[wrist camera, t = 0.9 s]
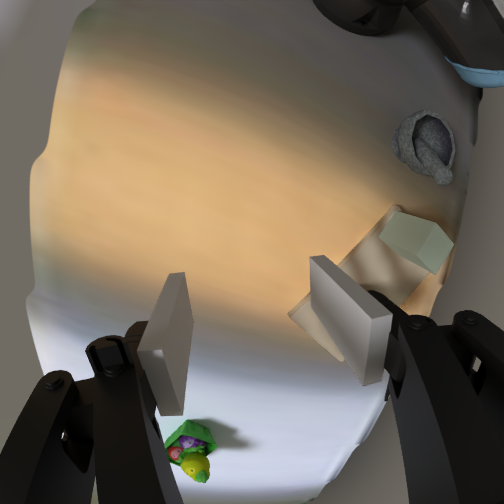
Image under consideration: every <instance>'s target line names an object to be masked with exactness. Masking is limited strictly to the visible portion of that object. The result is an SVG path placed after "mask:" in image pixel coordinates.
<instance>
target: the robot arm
mask: <svg viewBox="0 0 504 504" xmlns="http://www.w3.org/2000/svg"><path fill="white" fill-rule="evenodd" d="M313 2H314V4H315V5H316V7H317V8H318V9H319V10H320V12H321V13H322V14H323V15H324V16H325V17H327V18H328V19H329V20H330V21H332V22H333V23H335V24H336V25H338V26H339V27H341V28H343V29H345V30H348V31H350V32H353V33H356V34H360V35H378V34H381V33H383V32H385V31H386V30H387V29H389V28H390V27H391V26H392V25H393V24H394V23H395V22H396V20H397V18H398V15H399V13H400V11H401V9H402V6H403V4H404V5H405V6H406V7H407V8H408V9H409V11H410V12H411V13H412V14H413V15H414V16H415V18H416V19H417V20H418V21H419V22H420V24H421V25H422V26H423V27H424V29H425V30H426V31H427V32H428V34H429V35H430V36H431V37H432V39H433V40H434V41H435V43H436V44H437V45H438V47H439V48H440V49H441V51H442V52H443V54H444V55H445V58H446V60H447V61H448V62H449V63H450V64H452V66H453V67H454V69H455V70H456V71H457V73H458V74H459V76H460V77H461V78H462V79H463V80H464V81H465V82H467V83H469V84H471V85H472V86H476V87H481V88H494V87H501V86H504V0H313ZM310 291H311V308H312V309H313V311H314V312H315V314H316V315H317V317H318V318H319V320H320V322H321V323H322V325H323V326H324V328H325V329H326V331H327V332H328V334H329V335H330V337H331V338H332V340H333V341H334V343H335V344H336V346H337V347H338V349H339V351H340V352H341V354H342V355H343V357H344V358H345V360H346V361H347V363H348V364H349V366H350V367H351V369H352V371H353V372H354V374H355V375H356V377H357V378H358V380H359V381H360V383H361V385H362V386H366V385H370V384H373V383H376V382H380V381H382V377H383V372H384V368H385V369H386V370H387V372H388V373H389V374H390V377H389V381H388V385H387V390H386V394H385V400H384V401H388V397H389V395H390V396H391V399H392V404H393V409H394V413H395V418H396V422H397V428H398V433H399V438H400V443H401V449H402V455H403V461H404V467H405V474H406V481H407V488H408V496H409V504H504V331H503V330H501V329H500V328H499V327H497V326H496V325H495V324H493V323H492V322H491V321H489V320H488V319H487V318H485V317H484V316H483V315H481V314H479V313H477V312H474V311H471V310H465V311H460V312H458V313H456V314H455V316H454V319H453V323H452V325H444V326H437V324H436V323H435V322H434V321H433V320H432V319H430V318H429V317H426V316H422V315H408V314H407V313H405V312H404V311H403V310H402V309H401V308H399V307H398V306H397V305H396V304H394V303H393V302H392V301H391V300H389V299H388V298H387V297H386V296H385V295H384V294H382V293H380V292H377V291H374V290H368V291H366V290H365V289H364V288H362V287H361V286H360V285H359V284H358V283H357V282H355V281H354V280H353V279H352V278H351V277H350V276H348V275H347V274H346V273H345V272H344V271H342V270H341V269H340V268H339V267H338V266H337V265H335V264H334V263H333V262H332V261H331V260H329V259H328V258H327V257H326V256H325V255H321V256H313V257H310ZM193 324H194V321H193V316H192V310H191V305H190V300H189V294H188V289H187V283H186V278H185V272H180V273H172V274H169V275H168V278H167V280H166V282H165V284H164V287H163V289H162V291H161V294H160V296H159V298H158V300H157V303H156V305H155V307H154V310H153V312H152V314H151V317H150V319H149V321H139V322H136V323H134V324H133V325H132V326H131V327H130V328H129V329H128V331H127V333H126V335H125V337H124V338H123V337H121V336H116V335H111V336H105V337H101V338H98V339H96V340H95V341H93V342H91V343H90V344H89V345H88V346H87V348H86V350H85V352H86V354H87V357H88V359H89V362H90V364H91V367H92V369H93V371H94V373H95V375H94V377H93V378H90V379H85V380H80V381H75V382H74V380H73V377H72V375H71V373H69V372H67V371H64V370H58V371H52V372H49V373H47V374H46V375H45V376H43V377H42V378H41V379H40V381H39V382H38V383H37V385H36V387H35V388H34V390H33V392H32V394H31V395H30V397H29V399H28V401H27V403H26V405H25V406H24V408H23V410H22V412H21V414H20V415H19V417H18V419H17V421H16V423H15V425H14V427H13V429H12V431H11V433H10V435H9V437H8V439H7V441H6V443H5V445H4V447H3V449H2V452H1V454H0V504H91V498H92V492H93V487H94V481H95V476H96V484H97V493H98V501H99V504H184V503H183V500H182V497H181V495H180V492H179V489H178V486H177V484H176V481H175V478H174V475H173V472H172V469H171V466H170V462H169V459H168V456H167V453H166V449H165V446H164V443H163V439H162V435H161V432H160V428H159V424H158V422H157V420H156V417H155V410H156V405H157V408H158V410H159V413H160V415H161V416H182V415H183V410H184V400H185V390H186V381H187V372H188V364H189V355H190V347H191V339H192V332H193ZM476 357H477V358H479V359H480V360H481V364H480V367H479V369H478V371H477V372H476V371H475V370H473V365H474V362H475V360H476ZM63 432H64V436H63V438H62V433H63ZM61 438H62V439H61Z"/></svg>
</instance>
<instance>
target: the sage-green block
mask: <svg viewBox="0 0 504 504" xmlns="http://www.w3.org/2000/svg"><path fill="white" fill-rule="evenodd" d="M379 238H380V239H381V240H382V241H383V242H384V243H385V244H386V245H388V246H389V247H390V248H391V249H392V250H393V251H394V252H395V253H396V254H398V255H399V256H401V257H403V258H405V259H407V260H409V261H411V262H413V263H414V264H416V265H418V266H420V267H422V268H424V269H425V270H427V271H429V272H431V273H433V274H434V275H436V274H437V272H438V270H439V269H440V267H441V266H442V264H443V262H444V261H445V259H446V258H447V256H448V254H449V253H450V251H451V249H452V247H453V246H454V244H453V242H452V241H451V240H450V239H449V237H448V236H447V235H446V234H445V233H444V231H443V230H442V229H441V228H440V227H439V225H438V224H437V223H435V222H432V221H429V220H426V219H422V218H419V217H415V216H412V215H409V214H405V213H402V212H398V211H395V212H394V214H393V216H392V217H391V219H390V220H389V222H388V223H387V225H386V226H385V228H384V229H383V231H382V232H381V234H380V235H379Z"/></svg>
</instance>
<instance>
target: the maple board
mask: <svg viewBox="0 0 504 504" xmlns="http://www.w3.org/2000/svg"><path fill="white" fill-rule="evenodd" d="M395 211H398V212H402V213H403V211H402V210H401V208H400V207H399V206H397V205H393V206H392V207H391V209H390V210H389V211H388V212H387V213H386V214H385V215H384V216H383V217H382V218H381V220H380V221H379V222H378V223H377V224H376V225H375V226H374V227H373V228H372V229H371V230H370V232H369V233H368V234H367V235H366V236H365V237H364V238H363V239H362V240H361V241H360V242H359V243H358V244H357V245H356V246H355V247H354V248H353V249H352V250H351V252H350V253H349V254H348V255H347V256H346V257H345V258H344V259H343V260H342V261H341V262H340V263H339V264H338V265H337V266H338V267H339V268H340V269H341V270H342V271H344V272H345V273H346V274H347V275H348V276H350V277H351V278H352V279H353V280H354V281H355V282H357V283H358V284H359V285H360V286H361V287H362V288H364V289H365V290H366V291H368V290H374V291H377V292H380V293H382V294H384V295H385V296H386V297H387V298H388V299H389V300H391V301H392V302H393V303H394V304H396V305H397V306H398V307H399V306H400V305H401V304H402V303H403V302H404V301H405V300H406V299H407V297H408V296H409V295H410V294H411V293H412V292H413V291H414V290H415V289H416V288H417V286H418V285H419V284H420V283H421V282H422V281H423V280H424V278H425V277H426V276H427V275H428V274H429V271H427V270H425V269H424V268H422V267H420V266H418V265H416V264H414V263H413V262H411V261H409V260H407V259H405V258H403V257H401V256H399V255H398V254H396V253H395V252H394V251H393V250H392V249H391V248H390V247H389V246H388V245H386V244H385V243H384V242H383V241H382V240H381V239H380V238H379V235H380V234H381V232H382V231H383V229H384V228H385V226H386V225H387V223H388V222H389V220H390V219H391V217H392V216H393V214H394V212H395ZM288 316H289V318H290V319H291V320H292V321H294V322H295V323H296V324H297V325H298V326H299V327H301V328H302V329H303V330H304V331H305V332H306V333H308V334H309V335H310V336H311V337H312V338H313V339H315V340H316V341H317V342H318V343H319V344H321V345H322V346H323V347H324V348H325V349H326V350H328V351H329V352H330V353H331V354H332V355H334V356H335V357H336V358H337V359H338V360H339V361H341V362H342V361H343V360H344V359H345V358H344V357H343V355H342V354H341V352H340V351H339V349H338V347H337V346H336V344H335V343H334V341H333V340H332V338H331V337H330V335H329V334H328V332H327V331H326V329H325V328H324V326H323V325H322V323H321V322H320V320H319V318H318V317H317V315H316V314H315V312H314V311H313V309H312V308H311V292H310V293H309V294H308V295H307V296H305V297H304V298H303V299H302V300H301V301H300V302H299V303H298V304H297V305H296V306H295V307H294V308H293V309H292V310H291V311H290V312H289V313H288Z"/></svg>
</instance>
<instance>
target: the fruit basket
mask: <svg viewBox="0 0 504 504" xmlns="http://www.w3.org/2000/svg"><path fill="white" fill-rule="evenodd" d="M164 446H165V449H166V453H167V456H168V459H169V462H170V463H173V464H175V465H178V466H180V467H181V468H182V470H183V471H184V472H185V473H186V474H187V475H188V476H190V477H191V478H192V479H193V480H195V481H197V482H203V483H206V481H207V480H208V479H209V476H210V472H209V468H210V463H209V460H208V458H207V457H206V456H207V455H208V454H210V453H211V452H212V451H213V450H215V449H216V448H217V445H216V444H215V442H214V441H213V438H212V436H211V433H210V431H209V429H208V428H204V427H203V426H201V425H199V424H196V423H194V422H191V421H189V420H186V421H185V422H184V423H183V425H181V426H180V427H179V428H178V429H177V431H175V432H174V433H173V434H172V435H171V436H170V437H169V438H167V440H166V442H165V444H164Z"/></svg>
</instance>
